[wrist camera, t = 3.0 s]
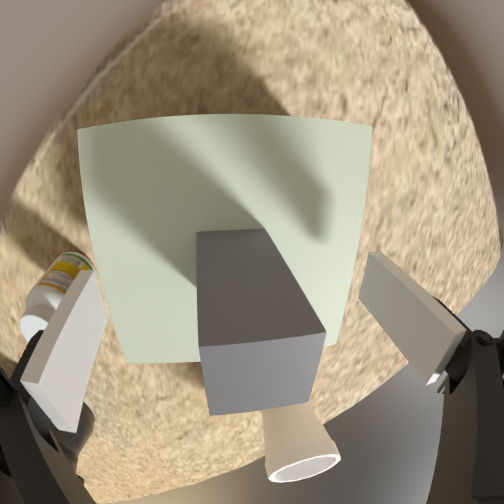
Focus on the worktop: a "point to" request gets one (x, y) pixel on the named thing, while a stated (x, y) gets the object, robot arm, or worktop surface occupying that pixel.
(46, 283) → the supplement bottle
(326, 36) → the worktop surface
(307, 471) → the foam cup
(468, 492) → the robot arm
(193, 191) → the lid
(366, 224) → the worktop surface
